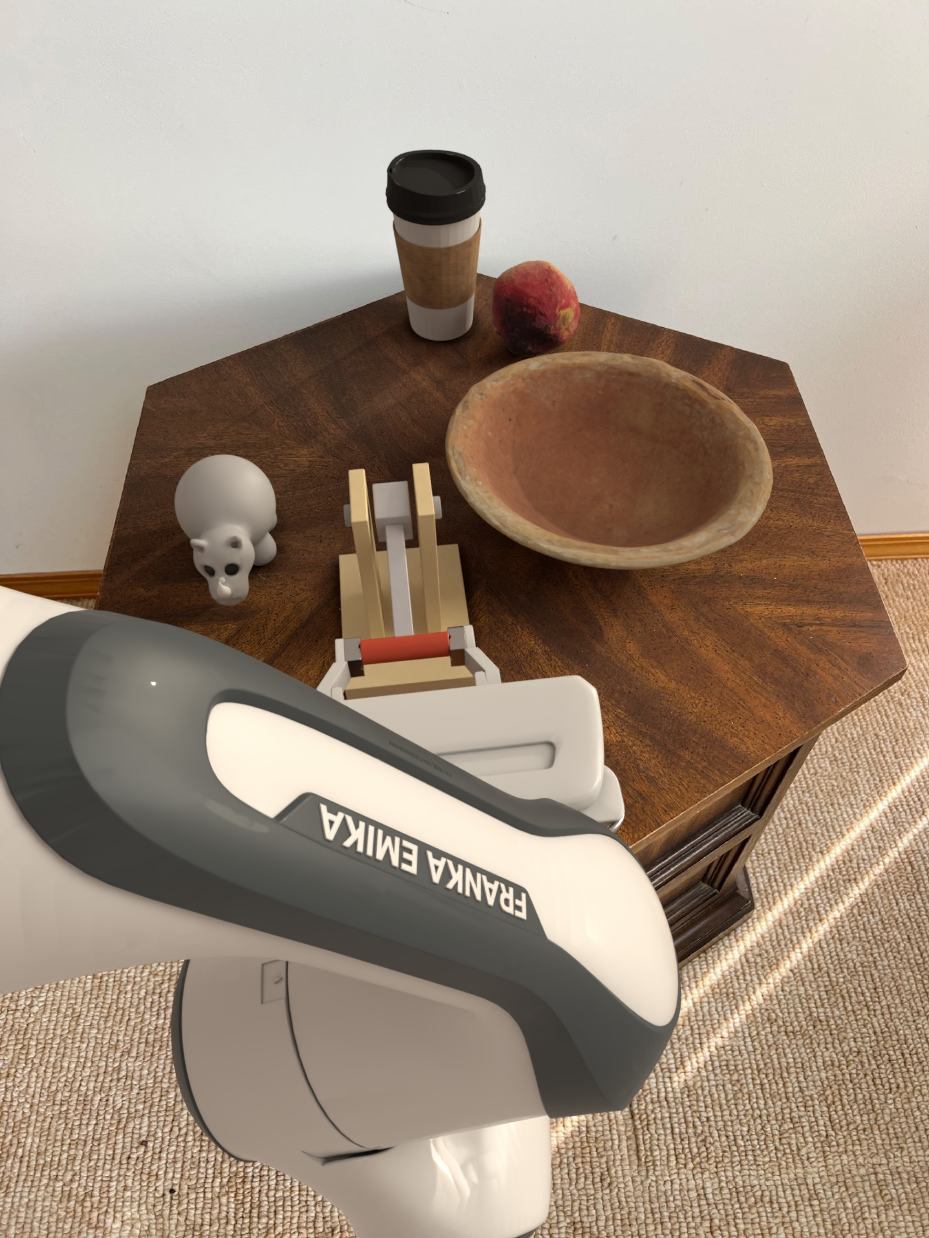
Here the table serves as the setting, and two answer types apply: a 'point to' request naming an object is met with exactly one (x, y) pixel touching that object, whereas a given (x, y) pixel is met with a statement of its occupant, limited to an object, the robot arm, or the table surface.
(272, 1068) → the robot arm
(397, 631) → the lever
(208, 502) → the chubby cartoon animal
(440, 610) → the wooden lever stand
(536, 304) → the fruit
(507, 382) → the bowl
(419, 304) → the coffee cup
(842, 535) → the table surface
